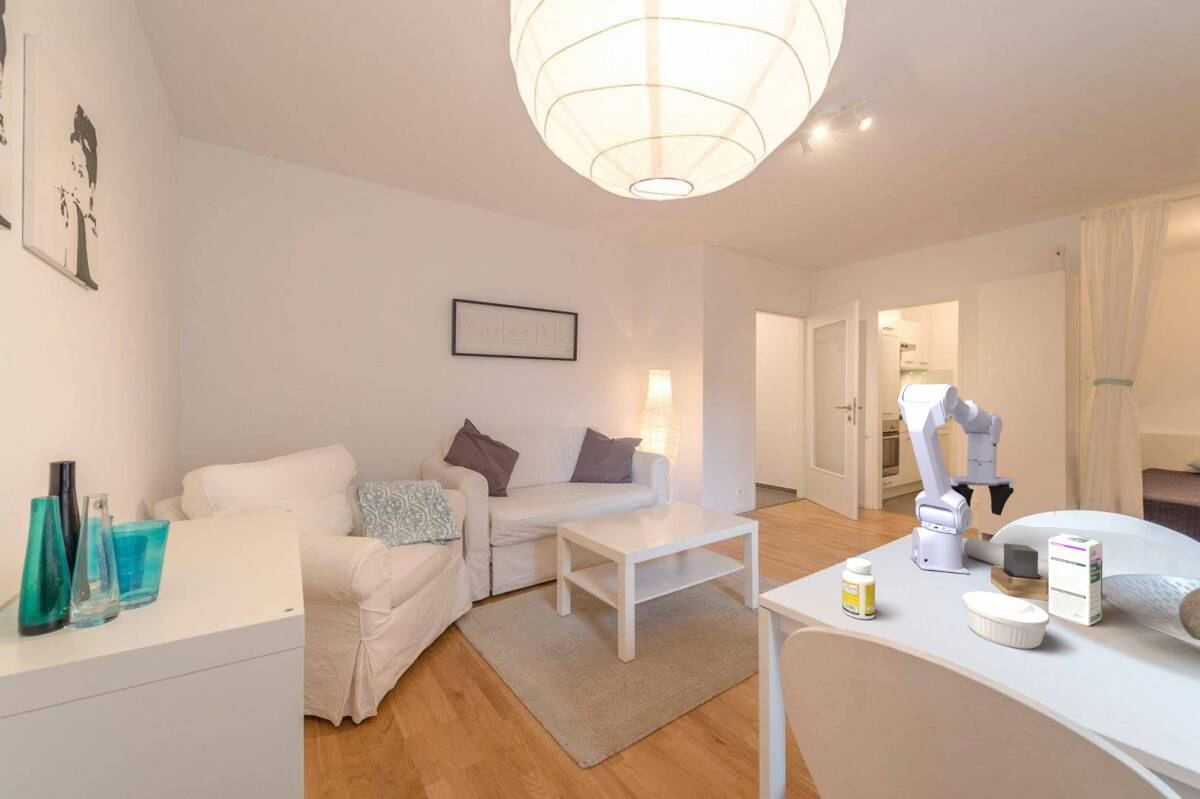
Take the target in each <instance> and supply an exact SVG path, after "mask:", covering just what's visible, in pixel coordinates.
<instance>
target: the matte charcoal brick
mask: <svg viewBox="0 0 1200 799" xmlns="http://www.w3.org/2000/svg"><path fill="white" fill-rule="evenodd" d="M1003 547H1004V569H1003V572H1005V573H1006V574H1007V575H1009V576H1010V577H1016V578H1026V579H1036V580H1038V558H1039V551H1038V550H1036V549H1035V548H1033V547H1031V546H1029V545H1027V544H1026V545H1025V544H1013V543H1003Z"/></svg>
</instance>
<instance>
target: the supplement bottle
mask: <svg viewBox="0 0 1200 799" xmlns="http://www.w3.org/2000/svg"><path fill="white" fill-rule="evenodd" d="M846 568H847V569H846V570H844V571H843V573H842V575H841V576H842V577H841V578H842V590H841V591H842V594H841V595H842V605H841V607H842V611H843V612H844V613H845V614H846V615H847V616H849V617H851V618H854V619H859V620H871V619H873V618H875V616H876V578H875V576H874V575H873V574H872V573H871V570H872V563H871V562H870V561H869V560H866V559H863V558H857V557H850V558H847V559H846Z"/></svg>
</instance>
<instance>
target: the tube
mask: <svg viewBox="0 0 1200 799" xmlns="http://www.w3.org/2000/svg"><path fill="white" fill-rule="evenodd" d="M963 553H964V555H966V556H967V557H968V556H971V557H970V558H972V557H974V558H973V559H975V558H977V559H976V560H978V559H979V560H978V561H981V560H982V561H981V562H983V561H984V563H986V562H987V563H986V564H989V563H990V564H989V565H992V564H993V565H992V566H994V565H996V566H1002V567H1004V546H1001V545H998V544H995V543H992V542H988V541H986V540H982V539H979V538H978V537H976V536H971V537H967V539H966V540H965V542H964V544H963ZM1038 574H1039V575H1041V576H1042V577H1044V578H1045V579H1047V580H1049V560H1044V559H1041V558H1039V557H1038Z"/></svg>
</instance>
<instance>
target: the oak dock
mask: <svg viewBox="0 0 1200 799" xmlns="http://www.w3.org/2000/svg"><path fill="white" fill-rule="evenodd" d="M1003 569H1004V567H1002V566H994V565H992V564H990V583H991V584H992V585H993V584H994V585H993V586H995V587H996V588H997V589H998V588H999V589H998V590H1000V591H1001V592H1002V593H1003V595H1008V596H1011V597H1015V598H1021V599H1022V598H1023V599H1031V600H1041V601H1048V602H1049V580H1047V579H1045V578H1044V577H1042V576H1041V575H1039V574H1038V580H1036V579H1026V578H1016V577H1010V576H1009V575H1007V574H1006V573H1005V572H1003Z"/></svg>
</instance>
